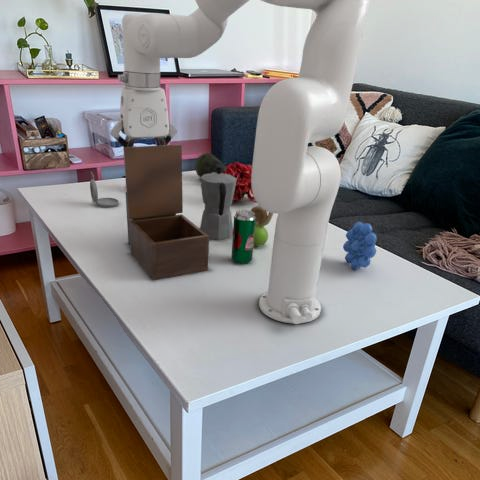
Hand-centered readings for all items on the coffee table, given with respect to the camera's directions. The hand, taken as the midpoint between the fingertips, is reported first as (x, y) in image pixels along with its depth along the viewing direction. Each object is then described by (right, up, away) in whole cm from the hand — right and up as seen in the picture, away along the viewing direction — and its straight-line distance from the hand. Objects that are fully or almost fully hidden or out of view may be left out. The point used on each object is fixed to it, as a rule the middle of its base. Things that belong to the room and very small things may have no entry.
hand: (145, 165), depth 114 cm
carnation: (+18, +6, +49) cm, 52 cm away
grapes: (+51, -24, +4) cm, 56 cm away
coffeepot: (+16, -14, +16) cm, 27 cm away
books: (0, -17, +8) cm, 19 cm away
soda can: (+22, -22, +4) cm, 32 cm away
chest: (+5, -23, 0) cm, 23 cm away
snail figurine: (+27, -17, +12) cm, 34 cm away
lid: (+3, -5, -3) cm, 7 cm away
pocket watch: (-19, -2, +31) cm, 36 cm away
